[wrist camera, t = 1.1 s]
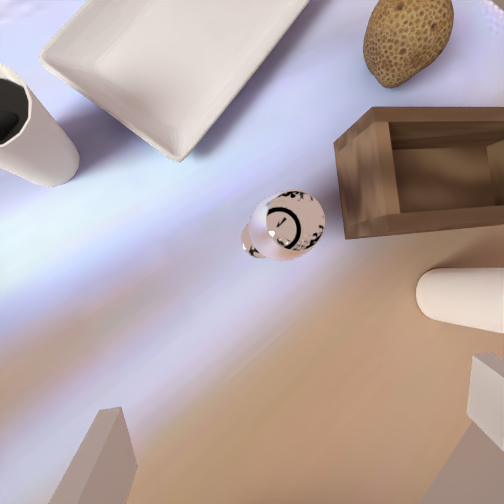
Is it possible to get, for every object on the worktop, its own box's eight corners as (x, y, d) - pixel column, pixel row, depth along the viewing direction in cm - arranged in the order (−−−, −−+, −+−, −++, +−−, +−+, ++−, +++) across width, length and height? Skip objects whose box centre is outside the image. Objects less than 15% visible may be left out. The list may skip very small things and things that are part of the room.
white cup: (98, 155, 31) (53, 100, 21) (55, 204, 30) (-14, 171, 20) (42, 113, 30) (-32, 36, 20) (-5, 163, 29) (-107, 107, 19)
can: (451, 264, 38) (565, 260, 26) (461, 313, 38) (581, 332, 26) (408, 273, 37) (508, 274, 25) (419, 324, 37) (525, 349, 25)
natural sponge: (389, 24, 39) (455, -59, 29) (418, 85, 39) (494, 23, 29) (333, 45, 37) (384, -37, 27) (364, 109, 37) (425, 51, 27)
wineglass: (288, 219, 34) (337, 191, 22) (280, 268, 34) (326, 265, 22) (239, 209, 33) (264, 174, 21) (231, 259, 33) (252, 252, 21)
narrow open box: (499, 224, 40) (573, 213, 32) (345, 239, 35) (388, 230, 28) (486, 139, 41) (556, 107, 33) (333, 142, 36) (372, 106, 28)
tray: (46, 78, 31) (28, 54, 27) (220, -106, 36) (223, -146, 32) (182, 177, 33) (180, 166, 29) (328, -12, 38) (341, -40, 34)
